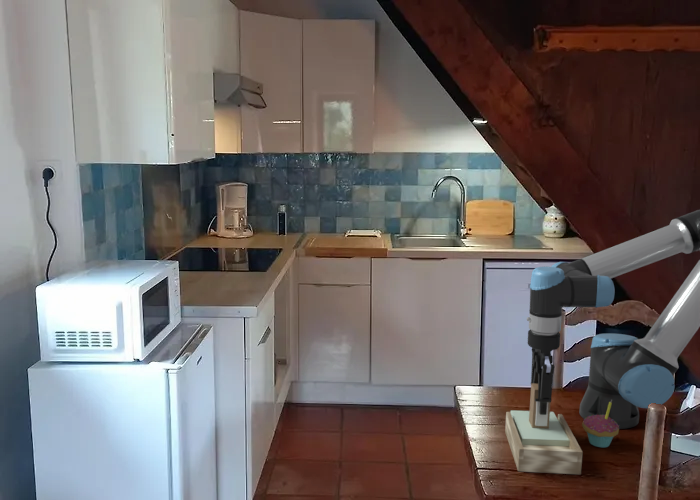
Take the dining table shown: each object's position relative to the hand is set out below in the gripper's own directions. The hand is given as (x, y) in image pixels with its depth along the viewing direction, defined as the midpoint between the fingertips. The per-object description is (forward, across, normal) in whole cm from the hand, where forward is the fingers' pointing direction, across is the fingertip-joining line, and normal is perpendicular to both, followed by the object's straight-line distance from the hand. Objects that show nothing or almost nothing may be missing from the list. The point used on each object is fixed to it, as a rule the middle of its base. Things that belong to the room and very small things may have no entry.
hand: (539, 420), depth 165 cm
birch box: (+6, +5, 0) cm, 8 cm away
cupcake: (+6, 0, +15) cm, 16 cm away
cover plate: (+3, 0, 0) cm, 3 cm away
